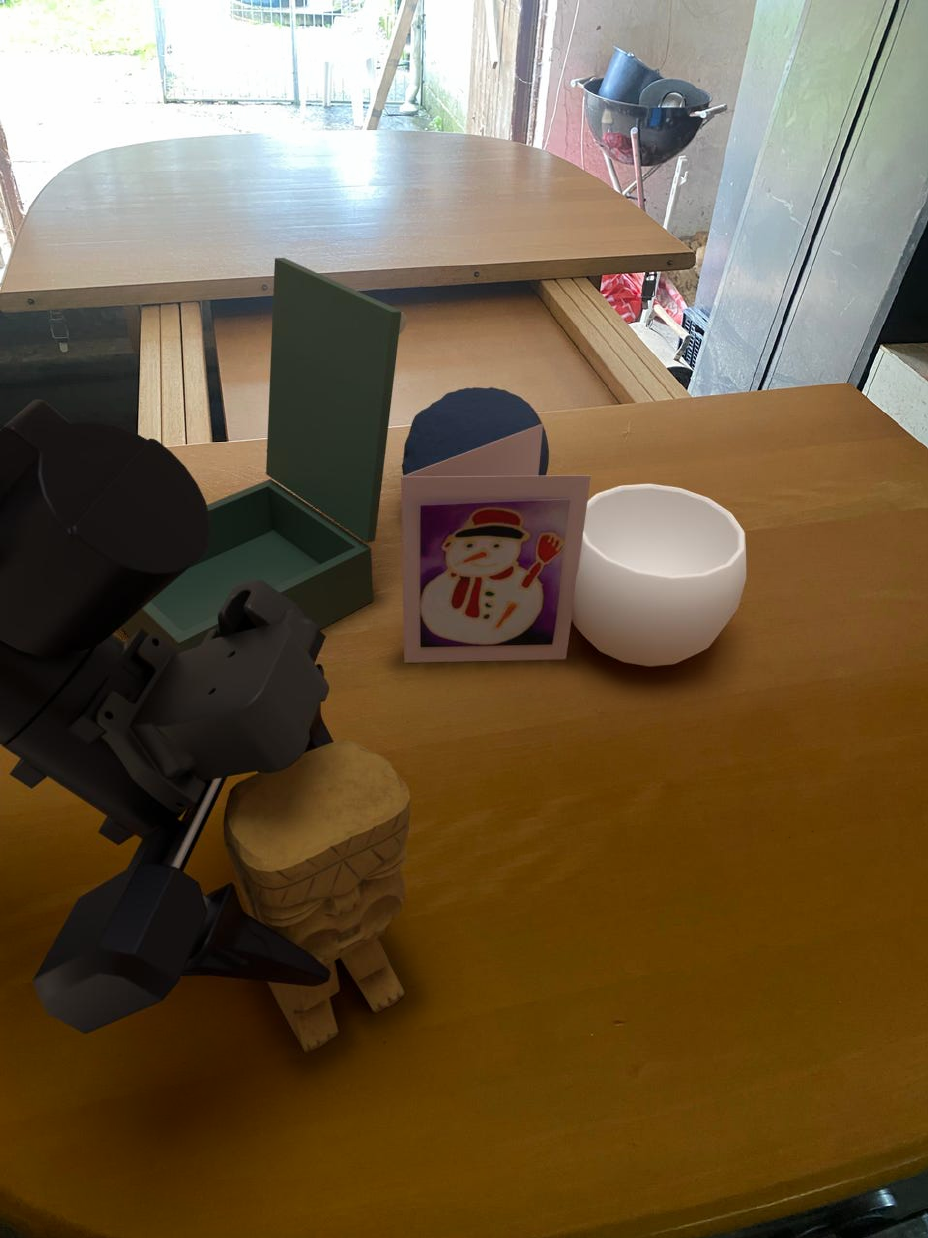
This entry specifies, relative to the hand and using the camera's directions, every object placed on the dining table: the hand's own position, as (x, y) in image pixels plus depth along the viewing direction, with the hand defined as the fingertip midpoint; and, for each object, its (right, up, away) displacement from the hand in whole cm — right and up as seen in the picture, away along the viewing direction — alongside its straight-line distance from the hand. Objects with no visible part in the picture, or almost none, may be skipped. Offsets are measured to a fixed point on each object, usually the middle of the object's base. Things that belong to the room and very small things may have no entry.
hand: (349, 895), depth 41 cm
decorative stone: (+6, +21, +38) cm, 44 cm away
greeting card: (+6, +11, +26) cm, 29 cm away
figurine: (-2, -6, +5) cm, 8 cm away
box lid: (-5, +28, +23) cm, 37 cm away
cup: (+18, +11, +26) cm, 33 cm away
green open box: (-12, +13, +27) cm, 33 cm away
